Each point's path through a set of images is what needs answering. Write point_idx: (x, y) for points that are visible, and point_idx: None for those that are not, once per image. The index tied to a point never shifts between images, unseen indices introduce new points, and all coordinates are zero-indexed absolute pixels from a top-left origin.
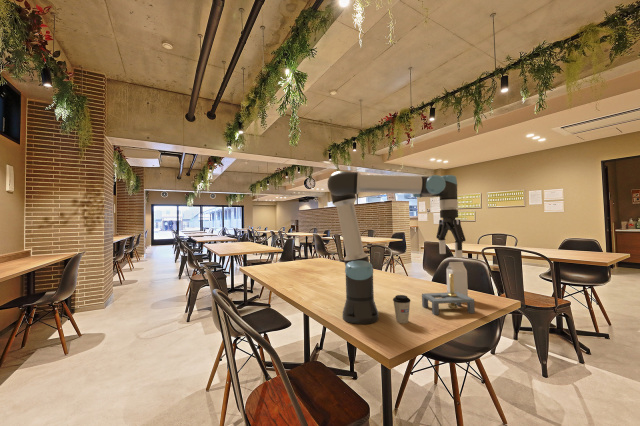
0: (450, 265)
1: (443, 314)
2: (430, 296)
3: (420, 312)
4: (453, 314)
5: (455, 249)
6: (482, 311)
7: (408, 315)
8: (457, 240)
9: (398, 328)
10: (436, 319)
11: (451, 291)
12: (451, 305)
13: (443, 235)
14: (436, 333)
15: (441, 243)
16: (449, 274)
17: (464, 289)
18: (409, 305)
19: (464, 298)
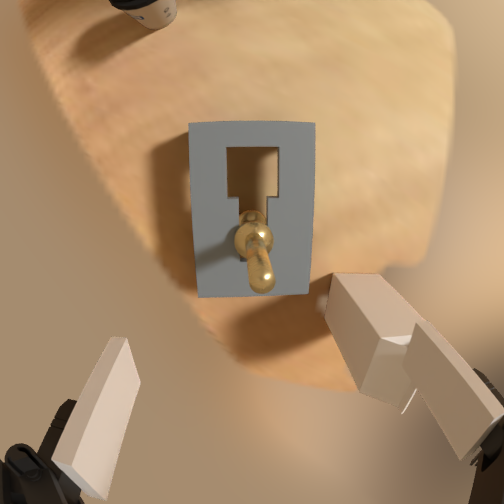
0: None
1: None
2: (261, 138)
3: (233, 90)
4: None
5: (90, 395)
6: (219, 306)
7: (138, 21)
8: (20, 476)
9: None
10: (156, 118)
11: (248, 239)
12: (239, 218)
13: (484, 498)
14: (65, 87)
15: (466, 405)
16: (262, 268)
17: (338, 331)
18: (126, 12)
19: (212, 268)
